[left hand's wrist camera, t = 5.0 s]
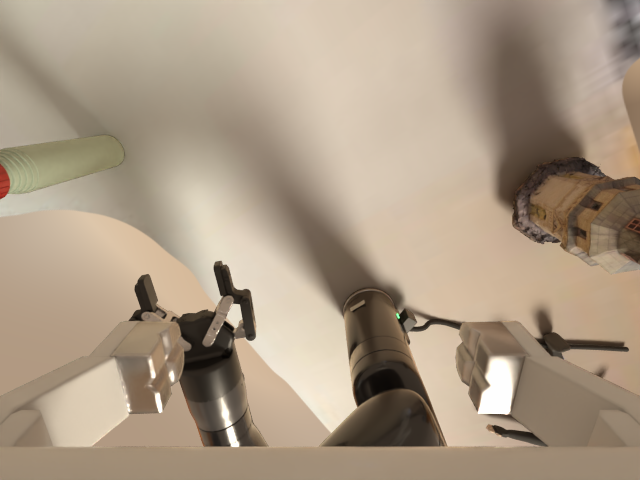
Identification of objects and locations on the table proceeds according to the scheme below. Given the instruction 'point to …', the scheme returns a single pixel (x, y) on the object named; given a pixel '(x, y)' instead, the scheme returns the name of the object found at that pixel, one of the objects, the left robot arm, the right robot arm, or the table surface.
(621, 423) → the left robot arm
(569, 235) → the miniature building
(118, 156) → the bottle
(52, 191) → the table surface
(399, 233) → the table surface
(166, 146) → the table surface
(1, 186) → the cap
